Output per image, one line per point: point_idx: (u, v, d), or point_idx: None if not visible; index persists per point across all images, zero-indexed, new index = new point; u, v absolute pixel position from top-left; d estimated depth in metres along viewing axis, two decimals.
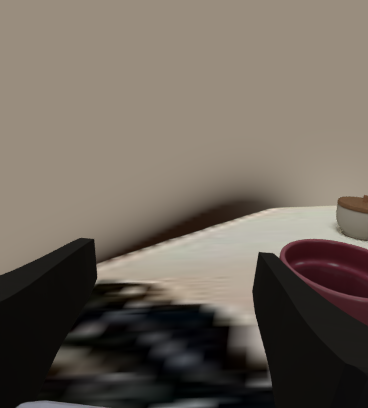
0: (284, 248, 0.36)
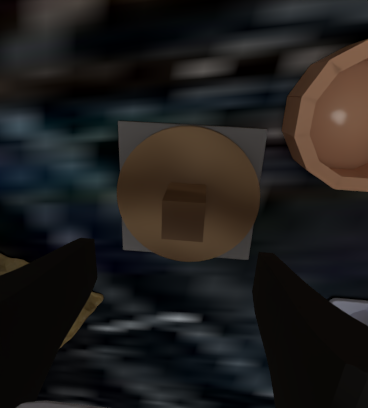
0: None
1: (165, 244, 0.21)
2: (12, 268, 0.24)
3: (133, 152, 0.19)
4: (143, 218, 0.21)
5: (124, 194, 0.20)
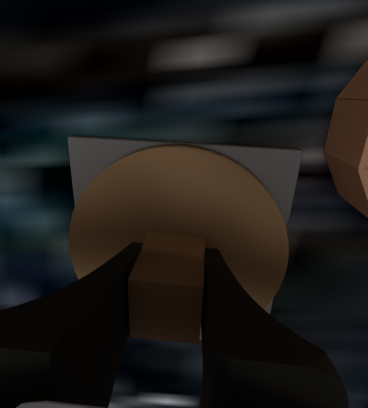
0: None
1: None
2: None
3: (90, 186, 0.12)
4: None
5: (80, 247, 0.13)
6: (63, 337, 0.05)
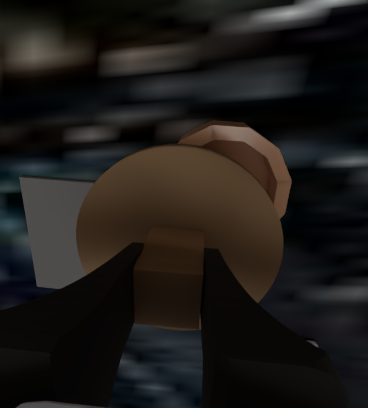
0: None
1: None
2: None
3: (96, 184, 0.13)
4: None
5: (86, 241, 0.14)
6: (63, 337, 0.05)
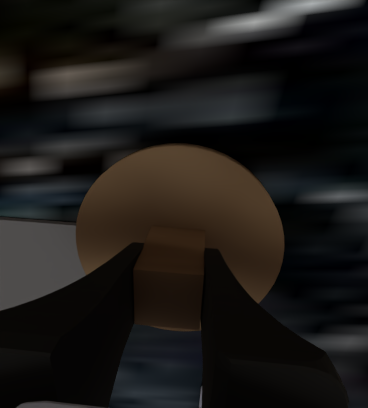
0: None
1: None
2: None
3: (96, 183, 0.13)
4: None
5: (86, 241, 0.14)
6: (63, 337, 0.05)
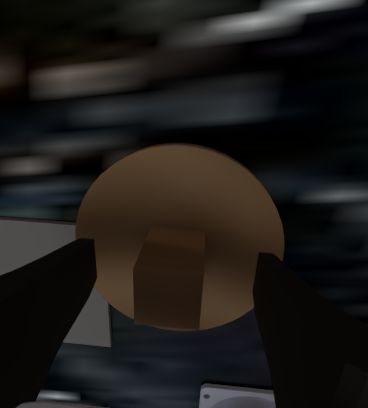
0: None
1: None
2: None
3: (96, 183, 0.13)
4: (115, 274, 0.14)
5: None
6: None
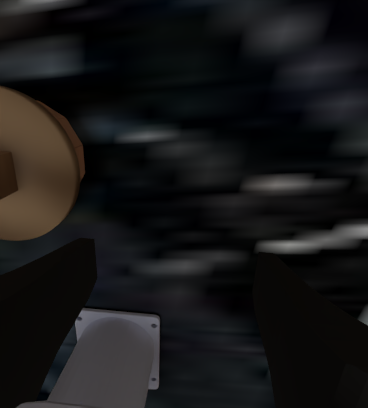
0: None
1: None
2: None
3: None
4: None
5: None
6: None
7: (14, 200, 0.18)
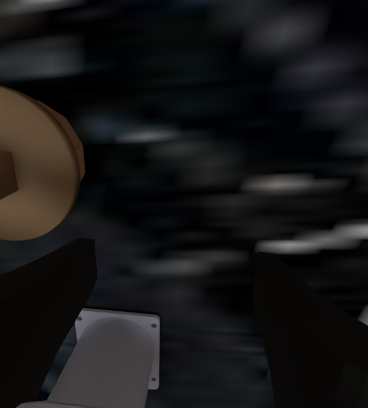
0: None
1: None
2: None
3: None
4: None
5: None
6: None
7: (14, 200, 0.18)
